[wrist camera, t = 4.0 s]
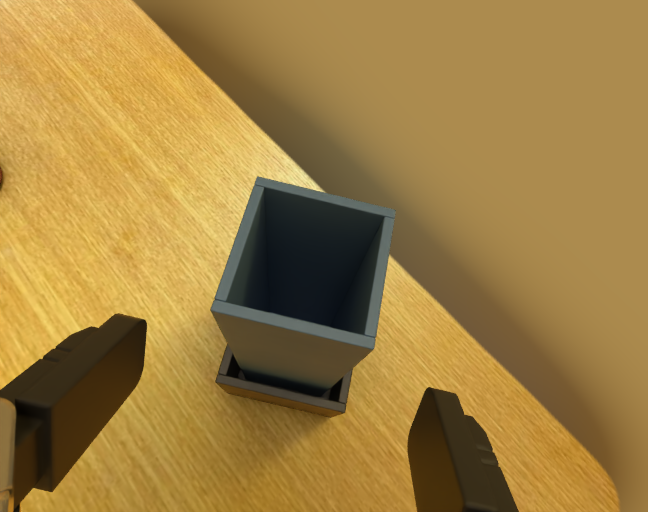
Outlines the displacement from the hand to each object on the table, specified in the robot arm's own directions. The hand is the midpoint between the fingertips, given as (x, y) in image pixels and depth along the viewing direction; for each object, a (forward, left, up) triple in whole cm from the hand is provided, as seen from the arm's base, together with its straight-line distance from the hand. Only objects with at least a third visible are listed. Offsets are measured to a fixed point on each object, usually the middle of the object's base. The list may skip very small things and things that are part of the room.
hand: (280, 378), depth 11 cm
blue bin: (-2, -4, -18) cm, 18 cm away
